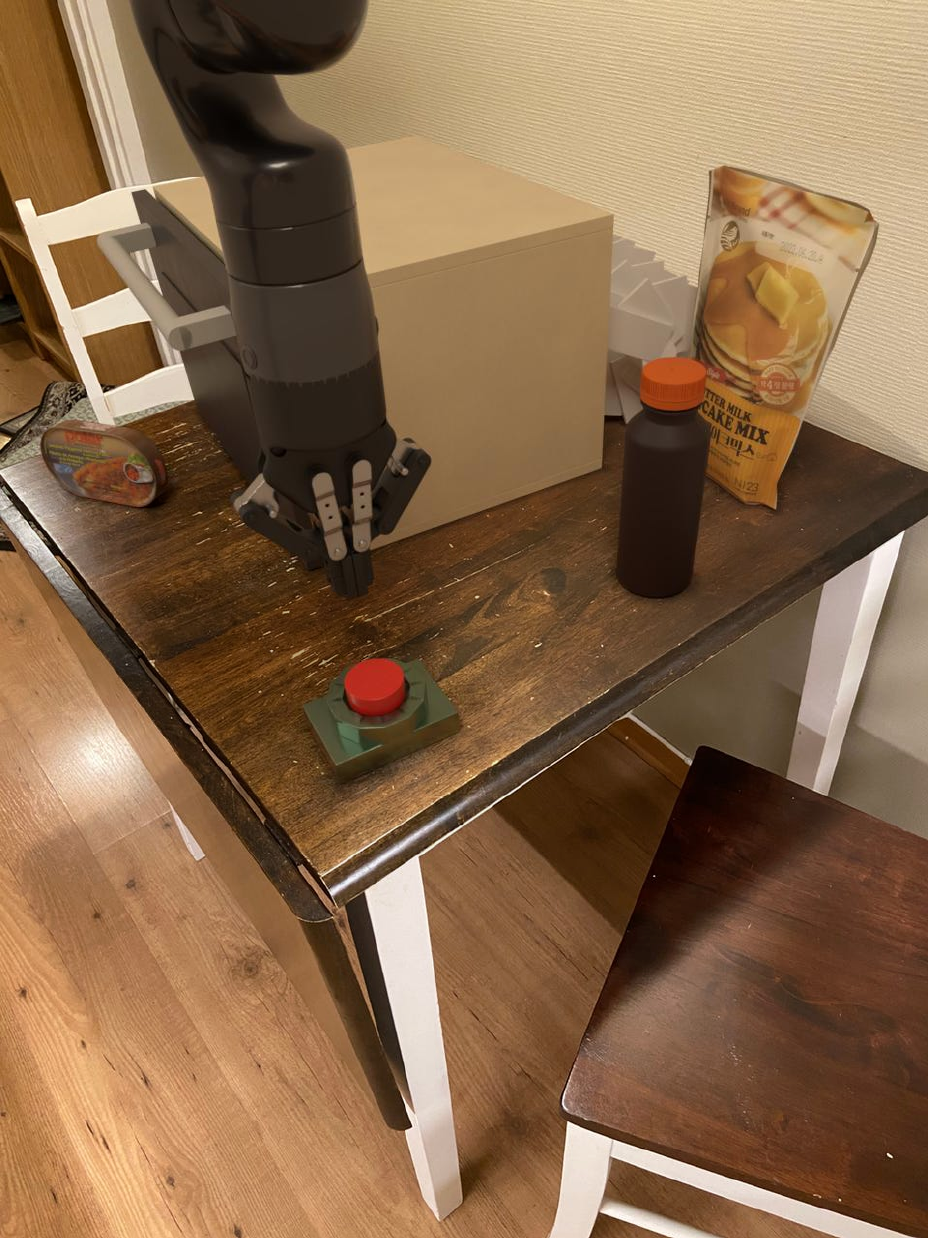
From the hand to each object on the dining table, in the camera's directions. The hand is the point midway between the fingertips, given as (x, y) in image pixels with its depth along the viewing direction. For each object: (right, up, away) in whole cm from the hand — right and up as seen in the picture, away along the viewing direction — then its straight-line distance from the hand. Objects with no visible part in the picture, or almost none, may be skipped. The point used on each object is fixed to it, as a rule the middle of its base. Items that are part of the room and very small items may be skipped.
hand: (352, 591), depth 60 cm
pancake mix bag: (+36, +14, +34) cm, 51 cm away
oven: (-1, +20, +44) cm, 48 cm away
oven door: (-18, +13, +37) cm, 44 cm away
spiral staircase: (+25, +26, +50) cm, 61 cm away
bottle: (+25, +2, +21) cm, 33 cm away
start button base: (+1, -10, +9) cm, 14 cm away
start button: (+1, -8, +6) cm, 10 cm away
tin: (-31, +12, +38) cm, 50 cm away
